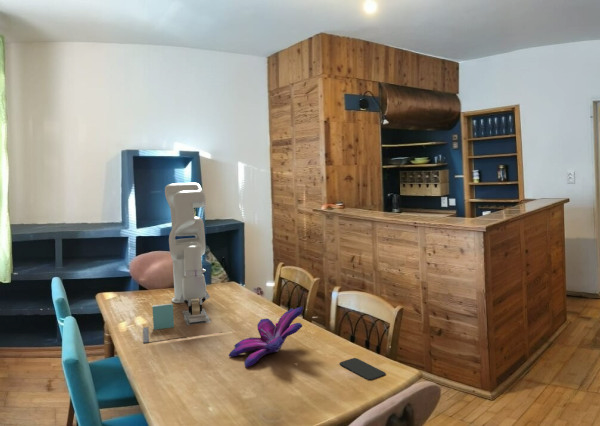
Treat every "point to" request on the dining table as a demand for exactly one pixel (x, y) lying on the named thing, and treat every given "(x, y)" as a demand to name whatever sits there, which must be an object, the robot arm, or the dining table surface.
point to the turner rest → (186, 314)
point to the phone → (362, 369)
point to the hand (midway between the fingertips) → (195, 313)
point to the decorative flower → (268, 337)
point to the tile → (163, 316)
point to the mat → (146, 336)
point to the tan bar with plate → (196, 312)
